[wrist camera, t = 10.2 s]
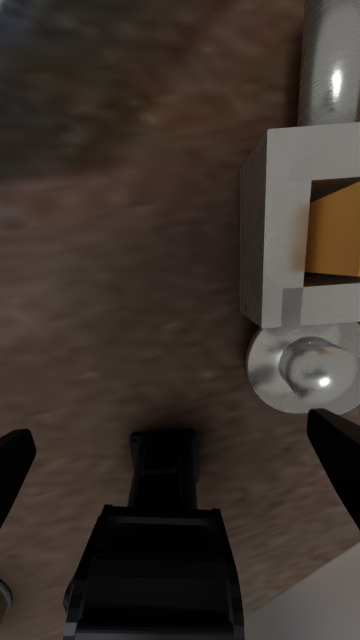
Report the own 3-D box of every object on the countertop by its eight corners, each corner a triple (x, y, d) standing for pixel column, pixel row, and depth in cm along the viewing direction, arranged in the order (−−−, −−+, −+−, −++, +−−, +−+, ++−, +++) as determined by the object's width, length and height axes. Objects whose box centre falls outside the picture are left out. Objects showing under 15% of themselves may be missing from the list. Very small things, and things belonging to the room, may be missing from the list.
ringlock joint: (333, 389, 20) (394, 439, 15) (238, 395, 20) (262, 448, 15) (380, 31, 14) (530, -137, 8) (237, 43, 14) (282, -116, 8)
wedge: (307, 267, 17) (411, 272, 10) (278, 269, 17) (358, 276, 10) (312, 213, 16) (432, 171, 9) (280, 215, 16) (372, 175, 9)
